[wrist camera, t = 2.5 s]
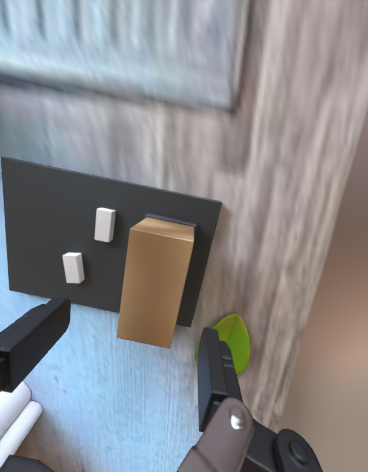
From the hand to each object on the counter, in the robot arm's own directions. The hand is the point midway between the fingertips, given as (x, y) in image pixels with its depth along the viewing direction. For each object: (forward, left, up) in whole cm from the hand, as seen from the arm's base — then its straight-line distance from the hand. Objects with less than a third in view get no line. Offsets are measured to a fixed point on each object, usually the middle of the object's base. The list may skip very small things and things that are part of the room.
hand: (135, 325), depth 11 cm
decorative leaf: (-9, +10, -11) cm, 18 cm away
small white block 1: (+9, +3, -9) cm, 13 cm away
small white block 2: (+6, -3, -9) cm, 12 cm away
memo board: (+6, 0, -11) cm, 12 cm away
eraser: (0, 0, -9) cm, 9 cm away
